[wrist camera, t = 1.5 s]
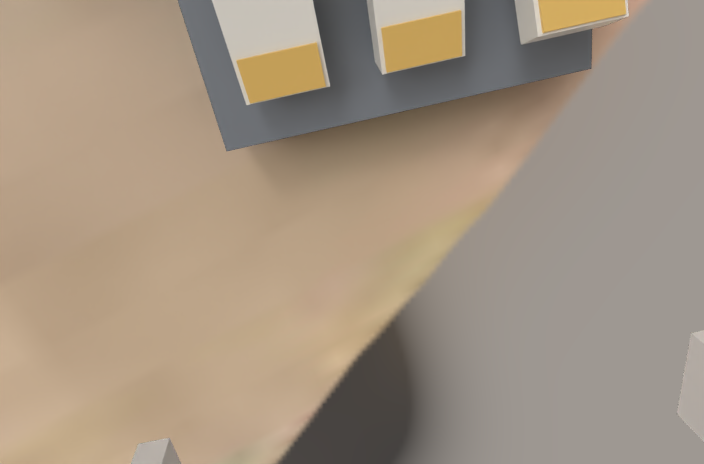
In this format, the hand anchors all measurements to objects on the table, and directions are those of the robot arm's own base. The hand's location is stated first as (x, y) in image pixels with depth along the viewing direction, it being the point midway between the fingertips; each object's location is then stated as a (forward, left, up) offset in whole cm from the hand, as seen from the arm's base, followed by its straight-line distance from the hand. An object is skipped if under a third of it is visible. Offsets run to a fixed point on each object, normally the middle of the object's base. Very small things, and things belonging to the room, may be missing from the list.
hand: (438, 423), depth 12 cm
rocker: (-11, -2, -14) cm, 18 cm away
